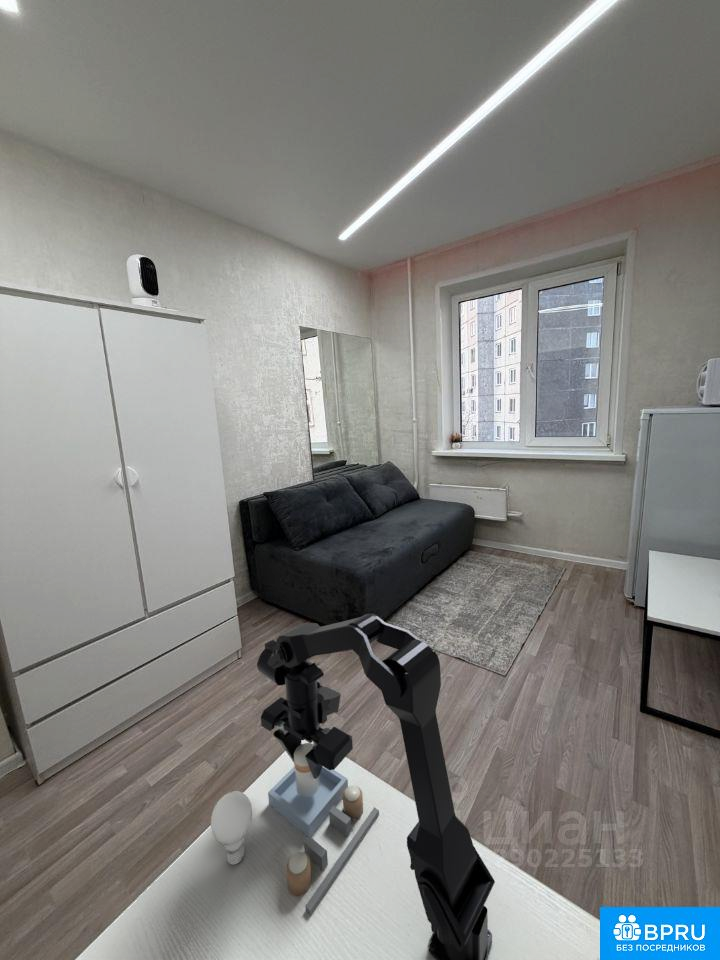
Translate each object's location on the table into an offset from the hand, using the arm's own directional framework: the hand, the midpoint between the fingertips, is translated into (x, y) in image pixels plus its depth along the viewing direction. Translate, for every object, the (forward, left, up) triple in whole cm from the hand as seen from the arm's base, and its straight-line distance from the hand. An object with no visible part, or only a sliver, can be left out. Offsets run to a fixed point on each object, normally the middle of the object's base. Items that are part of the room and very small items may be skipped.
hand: (307, 770), depth 71 cm
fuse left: (-8, +11, -6) cm, 15 cm away
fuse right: (-8, -3, -6) cm, 11 cm away
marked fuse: (0, 0, -3) cm, 3 cm away
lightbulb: (+3, +14, -6) cm, 16 cm away
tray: (0, 0, -6) cm, 6 cm away
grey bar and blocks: (-10, +4, -6) cm, 12 cm away
